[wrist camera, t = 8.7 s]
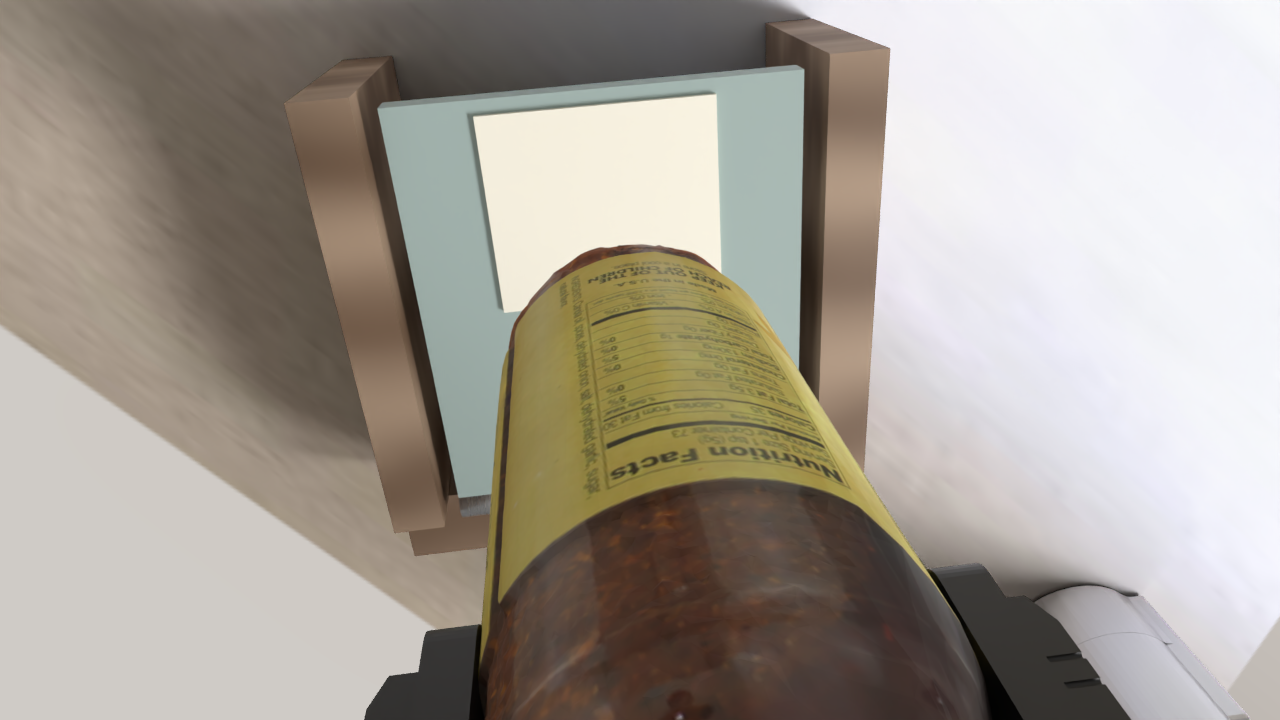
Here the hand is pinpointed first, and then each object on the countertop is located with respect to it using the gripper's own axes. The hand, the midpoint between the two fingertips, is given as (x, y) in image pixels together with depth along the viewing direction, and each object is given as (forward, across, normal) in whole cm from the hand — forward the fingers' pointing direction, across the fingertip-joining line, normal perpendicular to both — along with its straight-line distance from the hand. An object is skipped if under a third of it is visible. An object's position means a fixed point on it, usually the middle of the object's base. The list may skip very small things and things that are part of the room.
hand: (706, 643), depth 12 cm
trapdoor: (+21, 0, +4) cm, 22 cm away
